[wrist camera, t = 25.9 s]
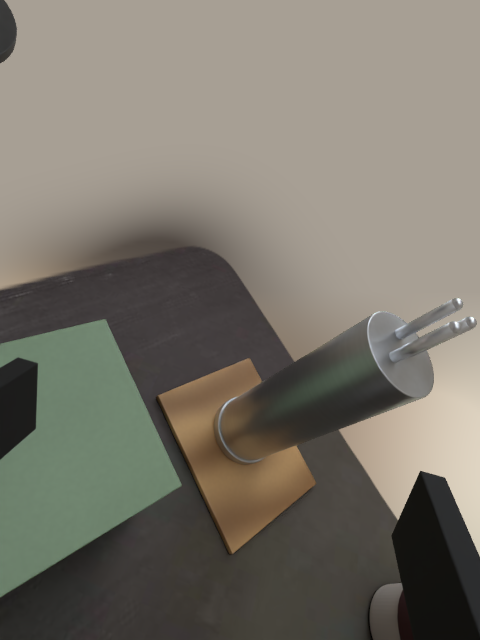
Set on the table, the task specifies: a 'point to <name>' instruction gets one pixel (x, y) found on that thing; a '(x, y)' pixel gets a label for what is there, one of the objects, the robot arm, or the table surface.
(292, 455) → the wooden board
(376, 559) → the table surface
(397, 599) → the coffee cup
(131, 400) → the cabinet
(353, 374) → the cylinder
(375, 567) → the table surface
